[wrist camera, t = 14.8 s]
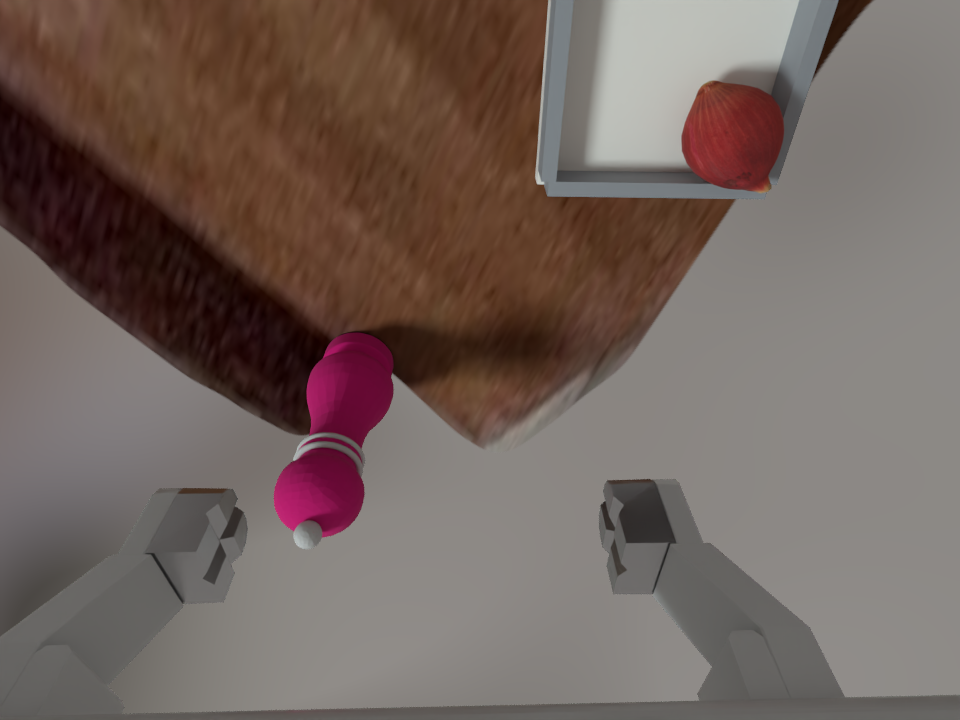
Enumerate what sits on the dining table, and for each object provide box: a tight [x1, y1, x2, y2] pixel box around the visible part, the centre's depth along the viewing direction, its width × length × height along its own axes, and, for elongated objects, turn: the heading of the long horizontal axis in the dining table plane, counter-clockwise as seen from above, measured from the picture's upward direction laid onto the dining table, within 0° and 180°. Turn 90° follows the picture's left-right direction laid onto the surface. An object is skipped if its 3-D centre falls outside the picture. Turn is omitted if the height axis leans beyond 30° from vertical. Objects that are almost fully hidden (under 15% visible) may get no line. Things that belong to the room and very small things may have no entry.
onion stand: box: [535, 0, 839, 199], centre depth 34 cm, size 16×16×4 cm
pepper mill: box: [274, 333, 393, 549], centre depth 42 cm, size 7×7×20 cm
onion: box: [681, 80, 784, 194], centre depth 35 cm, size 6×6×8 cm
